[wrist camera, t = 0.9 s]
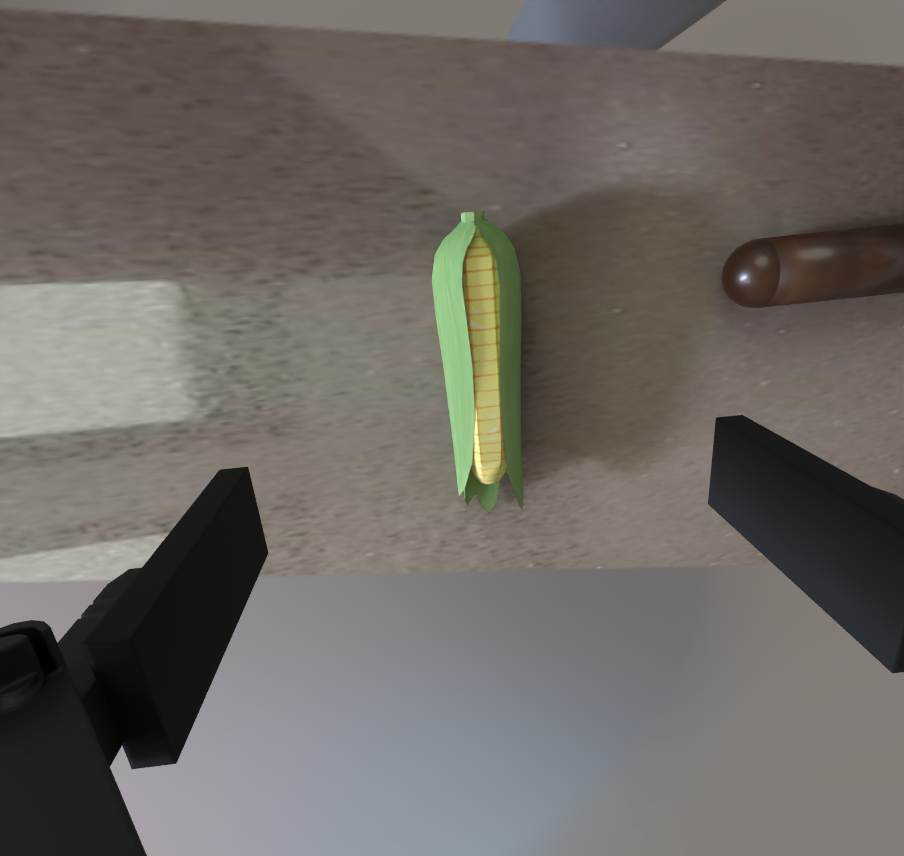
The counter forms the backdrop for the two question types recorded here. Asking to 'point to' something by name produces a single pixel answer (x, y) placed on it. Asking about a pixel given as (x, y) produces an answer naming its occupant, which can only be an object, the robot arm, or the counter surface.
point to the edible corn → (481, 354)
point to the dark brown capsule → (816, 267)
